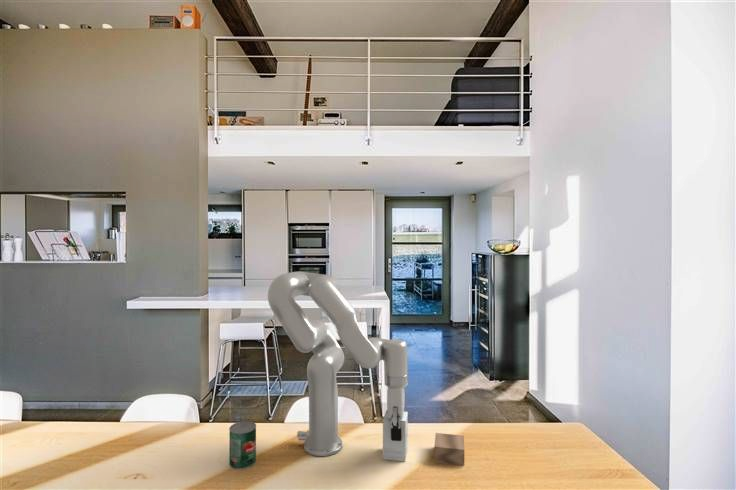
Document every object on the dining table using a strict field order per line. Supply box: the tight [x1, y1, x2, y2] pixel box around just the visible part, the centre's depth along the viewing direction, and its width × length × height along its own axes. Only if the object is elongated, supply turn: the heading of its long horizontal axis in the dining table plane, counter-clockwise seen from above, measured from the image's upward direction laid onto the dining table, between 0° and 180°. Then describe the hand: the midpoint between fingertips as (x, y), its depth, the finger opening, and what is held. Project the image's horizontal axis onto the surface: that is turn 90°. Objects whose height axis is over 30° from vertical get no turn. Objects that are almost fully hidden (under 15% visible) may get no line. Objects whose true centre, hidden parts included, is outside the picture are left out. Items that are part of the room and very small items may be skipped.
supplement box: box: [382, 409, 409, 462], centre depth 126 cm, size 7×7×13 cm
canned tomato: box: [228, 420, 257, 471], centre depth 121 cm, size 8×8×11 cm
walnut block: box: [433, 432, 465, 466], centre depth 125 cm, size 9×9×5 cm
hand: (397, 432), depth 126 cm, fingers open, 9 cm apart
